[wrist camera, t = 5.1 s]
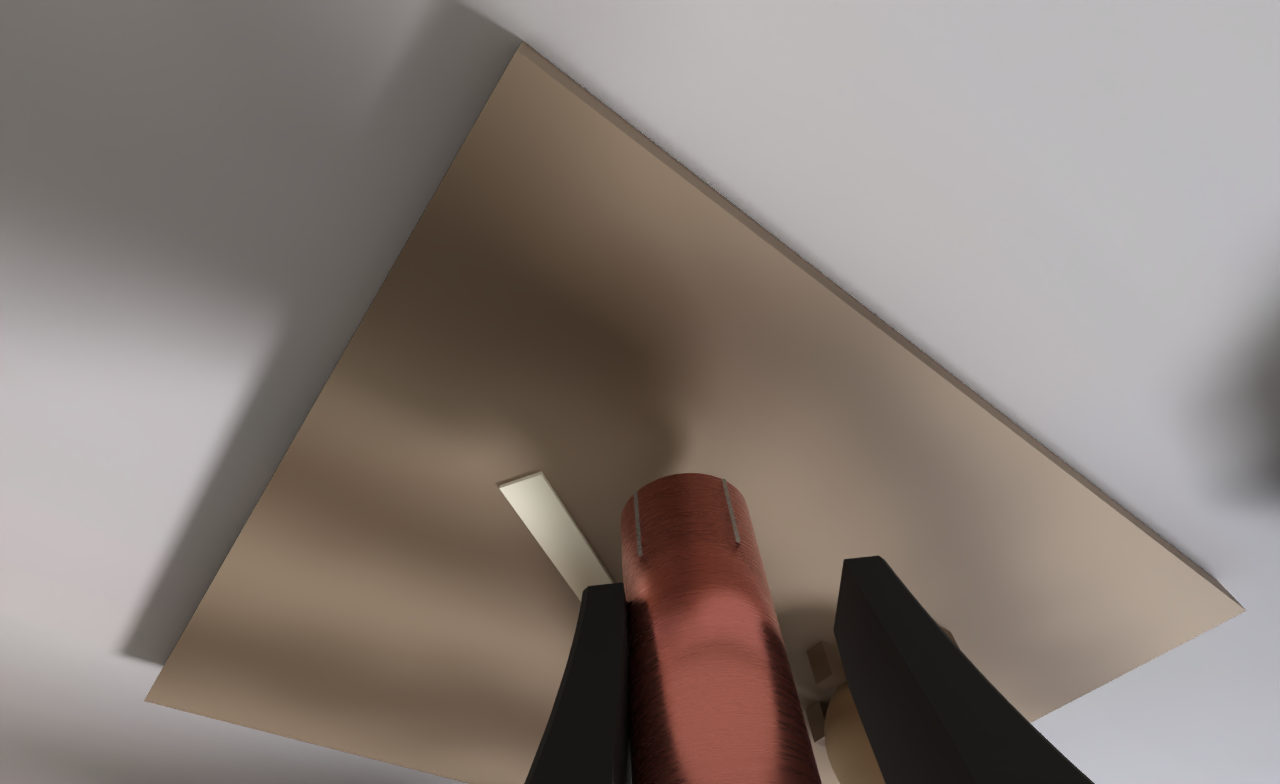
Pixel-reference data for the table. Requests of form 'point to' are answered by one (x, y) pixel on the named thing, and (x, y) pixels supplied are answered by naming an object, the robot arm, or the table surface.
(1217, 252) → the table surface
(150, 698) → the base
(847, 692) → the tan round ball
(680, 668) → the lever
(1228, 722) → the table surface
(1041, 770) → the robot arm
